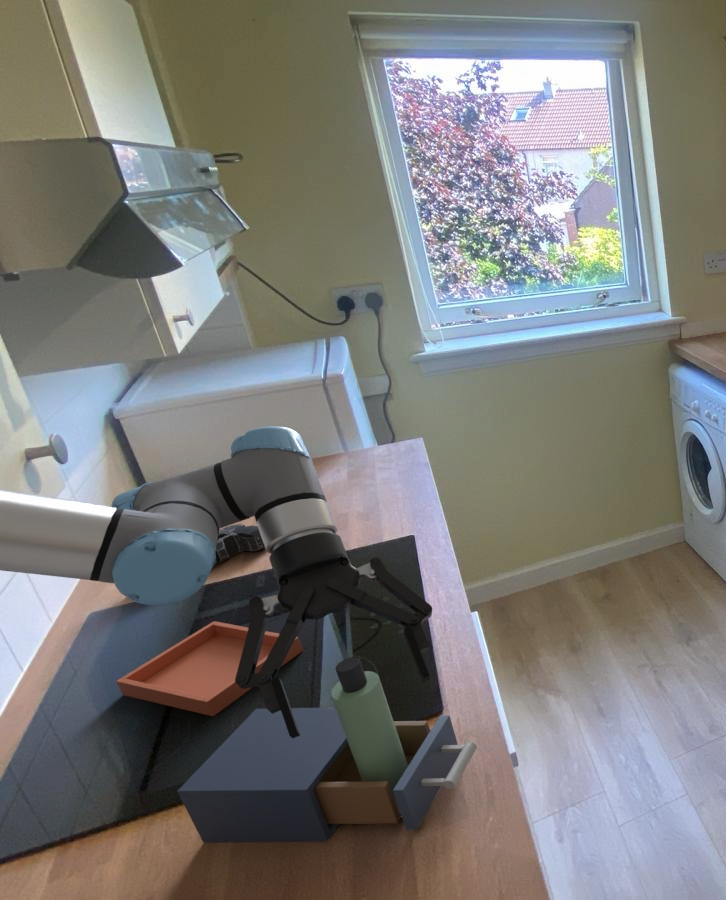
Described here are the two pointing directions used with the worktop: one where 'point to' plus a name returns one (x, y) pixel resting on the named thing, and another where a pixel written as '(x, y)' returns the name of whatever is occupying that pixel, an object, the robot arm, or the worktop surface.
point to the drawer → (413, 792)
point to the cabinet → (266, 780)
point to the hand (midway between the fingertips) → (363, 706)
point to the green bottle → (368, 724)
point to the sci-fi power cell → (237, 541)
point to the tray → (199, 670)
